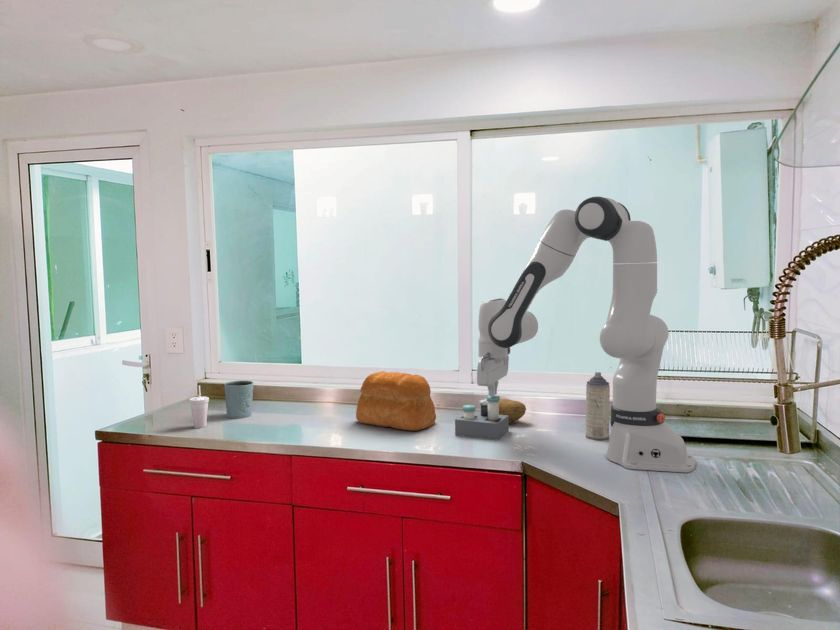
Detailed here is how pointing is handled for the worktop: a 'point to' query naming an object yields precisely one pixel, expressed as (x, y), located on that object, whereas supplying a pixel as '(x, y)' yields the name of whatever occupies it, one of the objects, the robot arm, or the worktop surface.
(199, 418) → the smoothie
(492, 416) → the white bottle teal cap
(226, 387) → the grey cup
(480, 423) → the mount
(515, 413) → the potato
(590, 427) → the aerosol can
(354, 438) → the worktop surface
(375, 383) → the bread
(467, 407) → the white cylinder
